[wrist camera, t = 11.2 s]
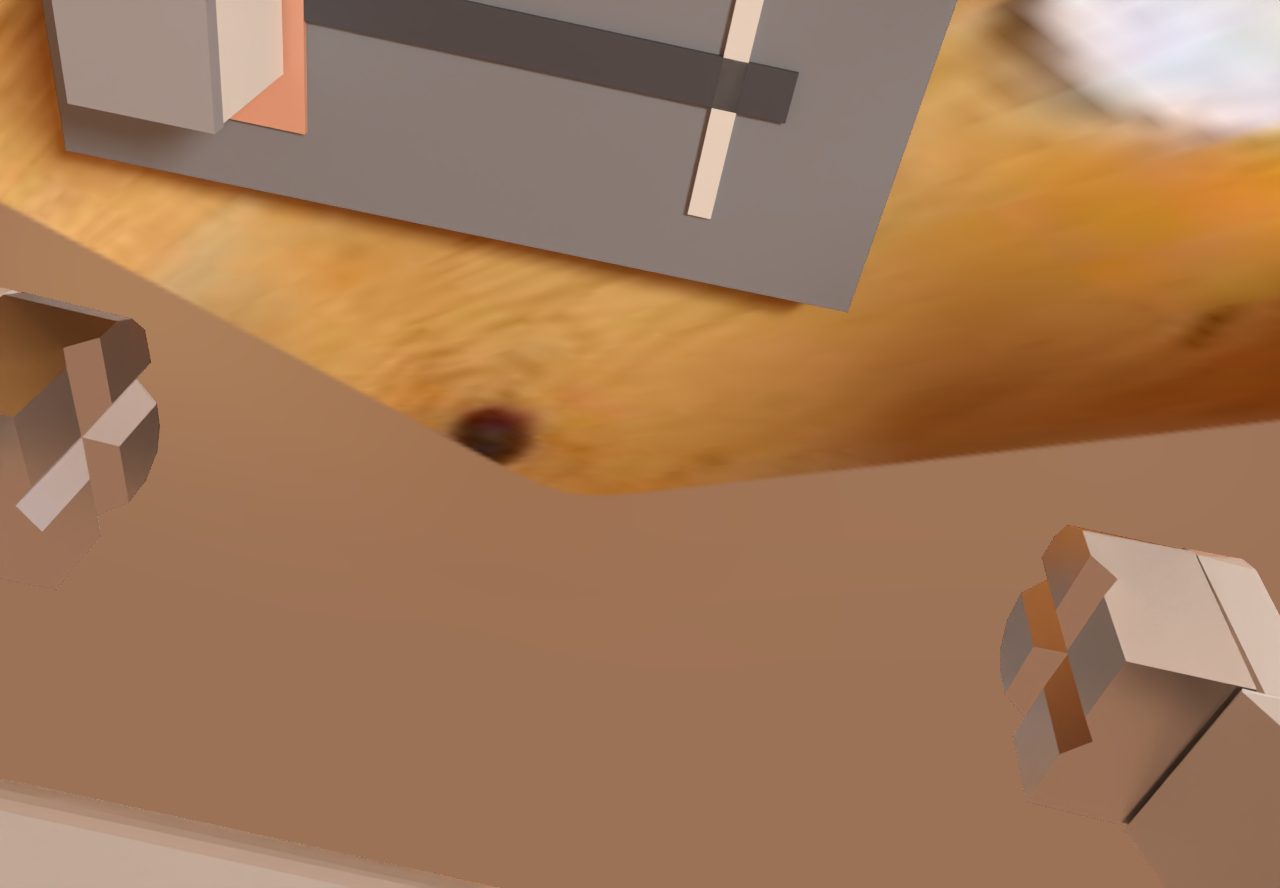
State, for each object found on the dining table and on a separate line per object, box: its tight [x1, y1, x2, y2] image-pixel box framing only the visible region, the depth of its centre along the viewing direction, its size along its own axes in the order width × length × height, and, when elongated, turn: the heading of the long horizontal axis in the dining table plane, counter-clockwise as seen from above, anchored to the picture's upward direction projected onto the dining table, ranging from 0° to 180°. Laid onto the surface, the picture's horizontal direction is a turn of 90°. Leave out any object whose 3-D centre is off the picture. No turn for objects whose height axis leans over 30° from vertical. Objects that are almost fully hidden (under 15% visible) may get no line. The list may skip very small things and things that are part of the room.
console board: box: [42, 0, 957, 312], centre depth 33 cm, size 28×14×3 cm, turn 80°
